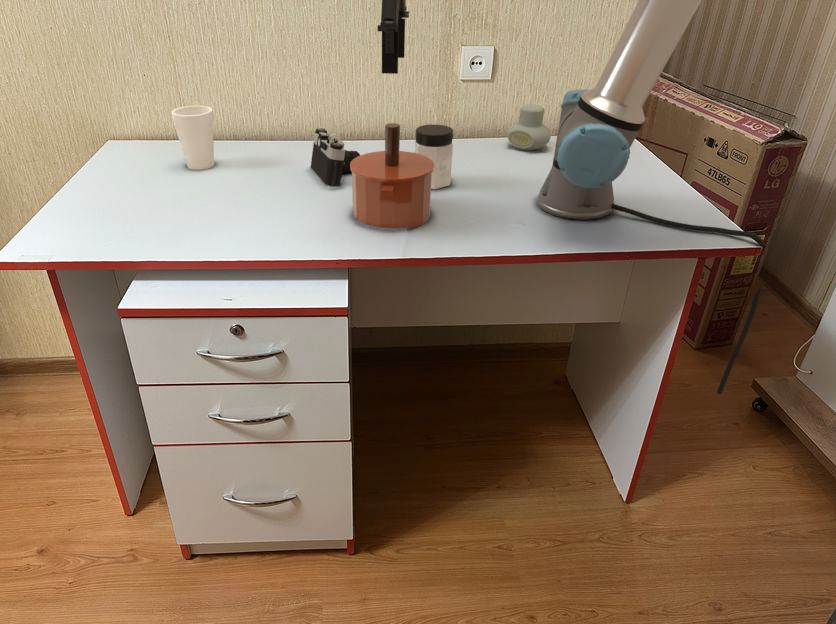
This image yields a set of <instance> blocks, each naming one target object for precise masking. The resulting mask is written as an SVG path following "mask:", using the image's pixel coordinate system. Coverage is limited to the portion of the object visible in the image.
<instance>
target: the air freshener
mask: <svg viewBox="0 0 836 624" xmlns="http://www.w3.org/2000/svg"><path fill="white" fill-rule="evenodd" d="M544 115H545V108H544V107H543V106H541V105H538V104H525V105H522V106H521V107H520V112H519V117H518V118H519V119H518V122H516V123H515V124H513V125H512V126H511V127H510V128H509V129H508V131H507V134H506V135H507V140H508V142H509V143H510V144H511V145H512V146H513V147H515V148H517V149H518V150H520V151H535V150H539V149H541V148H543V147H545V146H546V145H547V144H548V143H549V142H550V140H551V136H552V133H551V131H550V129H549V128H548V126H546V125H545V124H544Z"/></svg>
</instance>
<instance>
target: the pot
mask: <svg viewBox="0 0 836 624" xmlns="http://www.w3.org/2000/svg"><path fill="white" fill-rule="evenodd" d="M431 180H432V173H431V174H429V175H428V176H426V177H423V178H420V179H417V180H412V181H405V182H380V181H373V180H368V179H365V178H361V177H359V176H357V175H355V174H354V173H353V172H352V173H351V182H352V183H351V185H352V187H351V188H352V214H353V215H354V217H355V219H356V220H357V221H359V222H360V223H362V224H364V225H367V226H371V227H375V228H380V229H403V228H406V230H411V229H414V228H415V229H416V228H417V227H420V226H422V225H424V224H425V223H427V222H428V221H429V218H430V214H431V201H432V200H431V198H432V197H431V196H432V189H431Z"/></svg>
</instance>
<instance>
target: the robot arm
mask: <svg viewBox="0 0 836 624" xmlns="http://www.w3.org/2000/svg"><path fill="white" fill-rule="evenodd" d="M701 2H702V0H637V3H636V5H635V6H634V8H633V10H632V13H631V14H630V16H629V18H628V21H627V22H626V24H625V27H624V29H623V31H622V33H621V35H620V37H619V38H618V40H617V42H616V44H615V46H614V49H613V51H612V52H611V55H610V57H609V59H608V61H607V63H606V65H605V67H604V69H603V70H602V72H601V74H600V77H599V79H598V81H597V83H596V85H595V86H594V87H593V88H591V89H572V90H571V89H570V90H568V91H567V92H565V94H564V95H563V98H562V103H561V104H560V114H559V115H560V116H559V122H558V129H557V133H556V141H555V146H554V152H553V158H552V165H551V168H550V169H549V170H550V171H549V173H548V174H547V177H546V178H545V180H544V183H542V186H541V188H540V190H539V193H538V195H537V196H538V197H537V205H538V207H539V208H540V209H541V210H542V211H544V212H546V213H548V214H550V215H551V216H555V217H559V218H563V219H569V220H579V221H588V220H589V221H591V220H597V219H602V218H605V217H607V216H609V215H610V214H611V213H612V212H613V210H615V211H618V212H621V213H625V214H629V215H632V216H635V217H637V218H640V219H643V220H646V221H648V222H649V221H650V222H652V223H656V224H659V225H660V224H661V225H664V226H668V227H673V228H678V229H682V230H687V231H688V230H689V231H696V232H704V233H705V232H706V233H716V234H722V235H728V236H734V237H735V236H736V237H743V238H749V239H752V240H753V241H754V242H756V244H757V245H758V246H759V247H761V248H768V246H767V244H766V242H765V241H764V239H763V238H762V237H760V236H759V235H758V234H756V233H754V232H750V231H745V230H737V229H728V228H723V227H716V226H705V225H695V224H688V223H685V222H684V223H683V222H678V221H673V220H669V219H664V218H661V217H657V216H654V215H650V214H646V213H644V212H640V211H638V210H635V209H632V208H629V207H625V206H622V205H619V204H615V195H614V187H613V182H614V181H615V180H617V179H618V178H619V177H621V175H622V174H623V172H625V169H626V167H627V165H628V163H629V159H630V155H631V147H632V145H633V143H634V141H635V140H636V138H637V136H638V134H639V132H640V131H641V129H642V127H643V126H644V123H645V122H646V117H645V114H644V109H643V107H644V105H645V103H646V101H647V100H648V98H649V96H650V94H651V92H652V91H653V89H654V87H655V85H656V83H657V81H658V80H659V78H660V76H661V74H662V72H663V71H664V69H665V67H666V65H667V64H668V62H669V60H670V59H671V56H672V55H673V53H674V51H675V49H676V47H677V45H678V44H679V42H680V40H681V39H682V36H683V34H684V33H685V31H686V29H687V27H688V26H689V24H690V22H691V21H692V19H693V16H694V14H695V13H696V11H697V10H698V8H699V6H700V4H701ZM406 3H407V0H381V15H380V16H381V17H380V23H379V24H377V32H381V74H386V75H387V74H388V75H389V74H391V75H398V74H399V59H404V58H405V46H406V45H405V42H406V19H409V18H410V11H408V10H407V4H406ZM762 288H763V285H761V286H760V287H759V288H758V289H757V290H756V292H755V293H754V294H753V297H752V300H751V304H750V308H749V311H748V314H747V317H746V320H745V322H744V326H743V327H742V330H741V332H740V335H739V338H738V340H737V342H736V344H735V346H734V349H733V351H732V354H731V356H730V358H729V360H728V362H727V365H726V368H725V370H724V372H723V375H722V377H721V380H720V382H719V386H718V388H717V389H716V390H717V391H716V394H717V395H719V396H721V395H723V392H724V389H725V386H726V384H727V381H728V379H729V377H730V374H731V372H732V369H733V367H734V365H735V362H736V360H737V358H738V356H739V353H740V352H741V349H742V346H743V344H744V342H745V339H746V337H747V335H748V332H749V330H750V328H751V326H752V323H753V320H754V317H755V313H756V311H757V308H758V304H759V300H760V297H761V293H762Z"/></svg>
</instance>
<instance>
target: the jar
mask: <svg viewBox="0 0 836 624" xmlns="http://www.w3.org/2000/svg"><path fill="white" fill-rule="evenodd" d="M453 139H454V129H453V128H452V127H450V126H448V125H443V124H423V125H419V126H417V128H416V129H415V139H414V153H417V154H420V155H423V156H426V157H428V158H429V159H431V160H432V161H433V162H434V170H433V172H432V180H431V190H438V189H443V188H445V187H449V186H451V180H452V164H453V151H454V150H453V149H454V144H453Z"/></svg>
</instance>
